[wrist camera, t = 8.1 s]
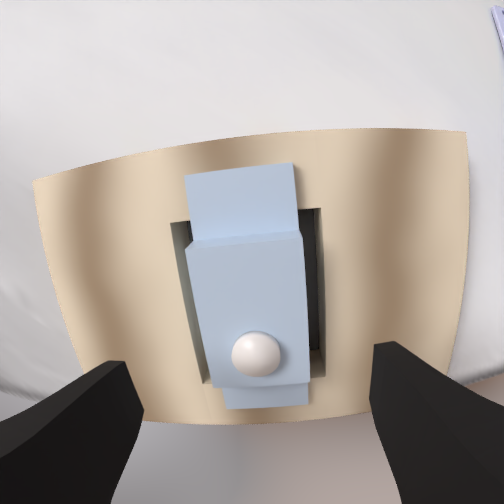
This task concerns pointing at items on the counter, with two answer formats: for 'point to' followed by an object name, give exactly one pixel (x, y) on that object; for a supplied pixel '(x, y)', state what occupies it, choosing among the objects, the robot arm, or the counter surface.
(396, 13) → the counter surface
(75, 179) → the board
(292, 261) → the block
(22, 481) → the robot arm
